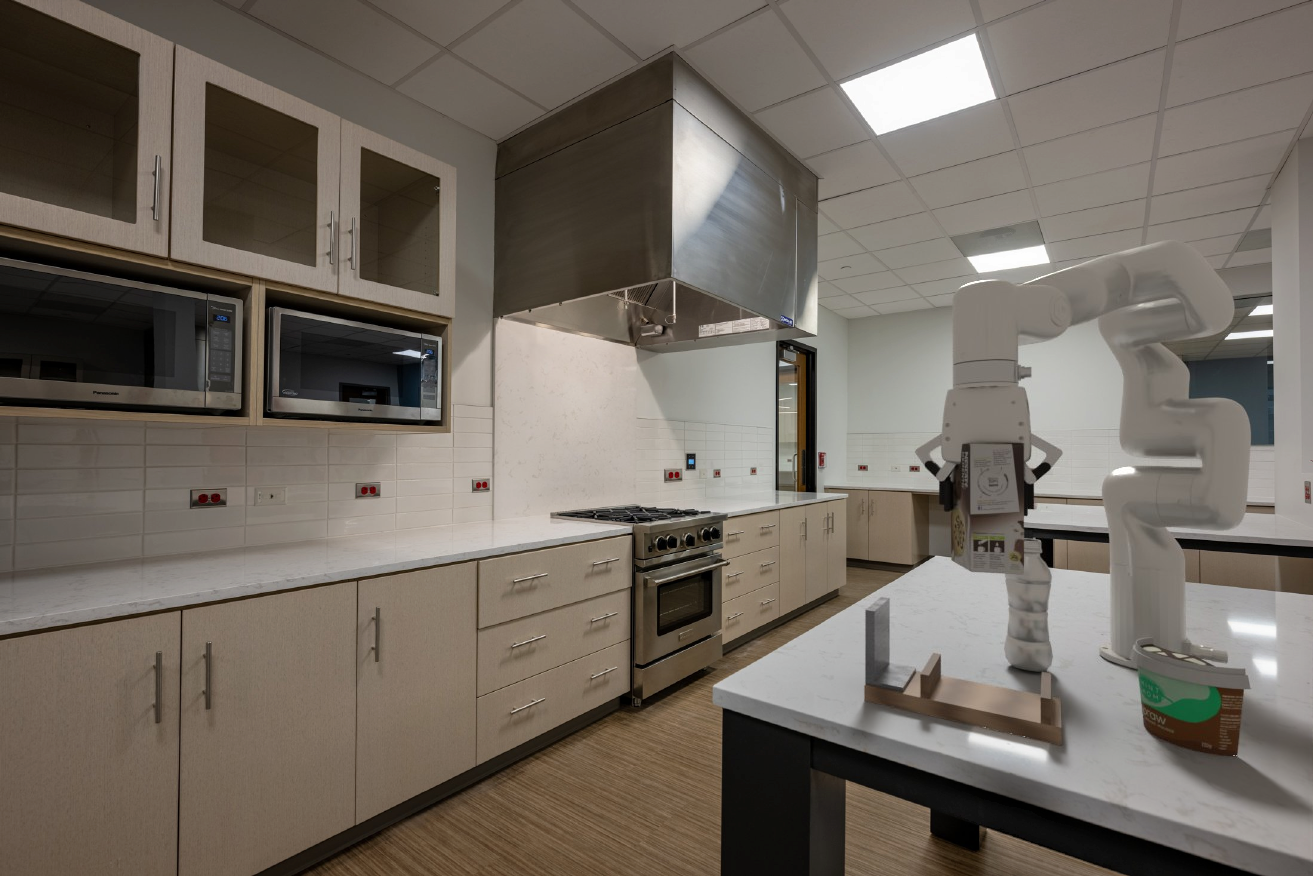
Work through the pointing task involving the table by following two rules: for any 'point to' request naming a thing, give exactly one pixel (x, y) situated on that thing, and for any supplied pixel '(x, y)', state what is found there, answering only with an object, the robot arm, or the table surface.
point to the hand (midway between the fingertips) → (985, 512)
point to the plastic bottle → (1029, 612)
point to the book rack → (976, 703)
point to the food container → (1189, 699)
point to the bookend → (882, 650)
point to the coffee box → (989, 508)
